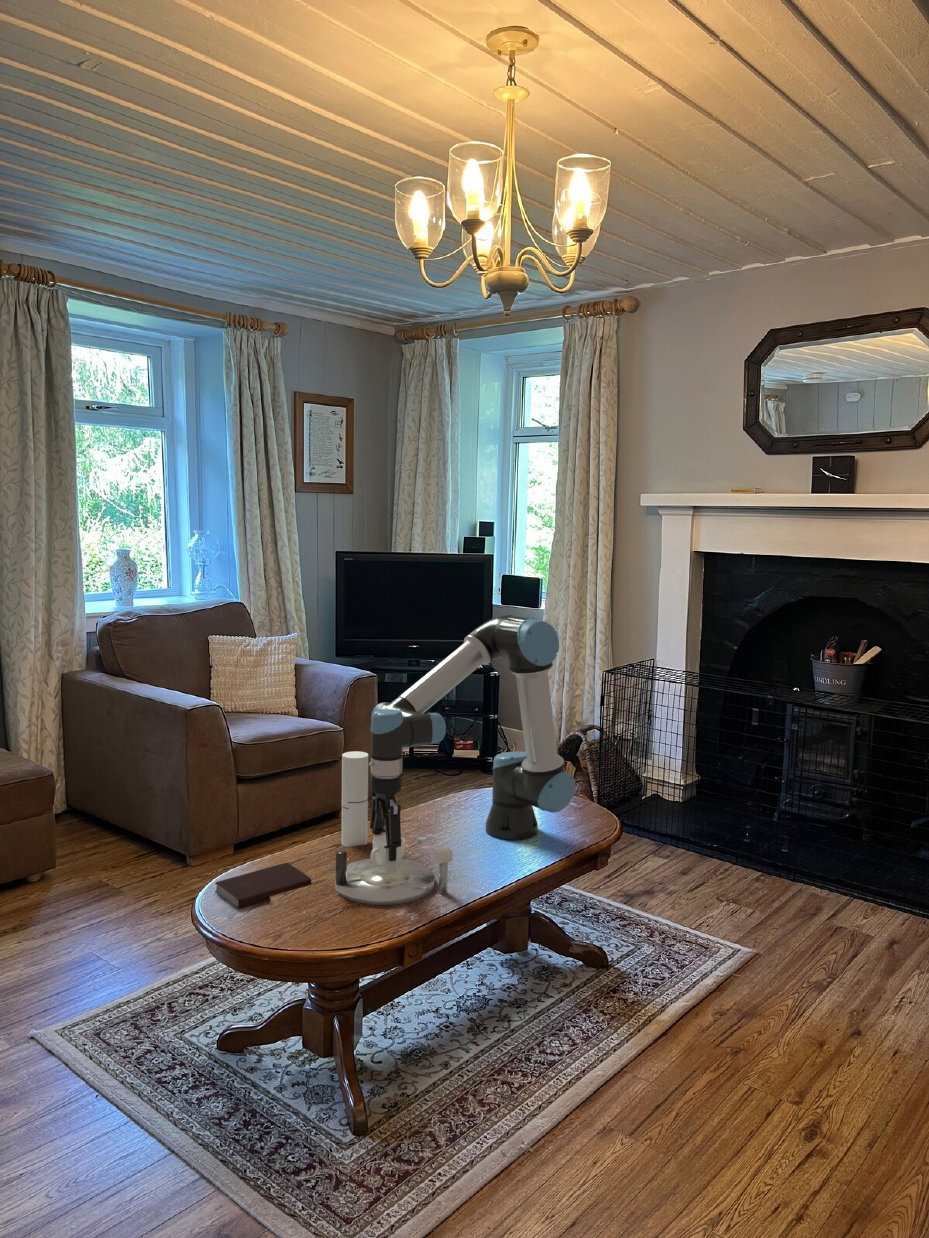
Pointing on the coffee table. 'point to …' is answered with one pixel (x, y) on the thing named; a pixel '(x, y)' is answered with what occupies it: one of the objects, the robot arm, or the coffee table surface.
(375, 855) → the cup
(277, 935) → the coffee table surface
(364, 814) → the cylindrical container
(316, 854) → the coffee table surface
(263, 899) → the book
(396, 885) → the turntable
